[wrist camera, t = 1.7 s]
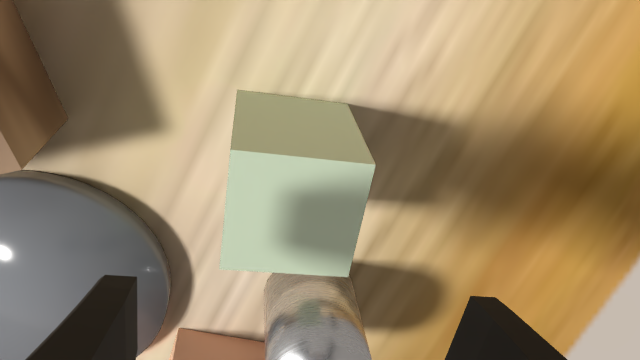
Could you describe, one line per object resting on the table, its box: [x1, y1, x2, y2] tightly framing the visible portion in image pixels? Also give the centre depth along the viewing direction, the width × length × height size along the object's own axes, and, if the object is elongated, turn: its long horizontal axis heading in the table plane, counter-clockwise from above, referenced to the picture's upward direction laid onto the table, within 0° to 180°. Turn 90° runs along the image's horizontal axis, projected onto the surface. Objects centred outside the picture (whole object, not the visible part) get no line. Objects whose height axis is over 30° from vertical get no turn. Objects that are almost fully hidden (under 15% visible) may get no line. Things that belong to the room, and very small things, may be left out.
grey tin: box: [264, 273, 372, 360], centre depth 20 cm, size 4×4×5 cm
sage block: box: [219, 90, 376, 277], centre depth 16 cm, size 4×4×5 cm
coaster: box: [0, 170, 171, 360], centre depth 20 cm, size 10×10×1 cm
